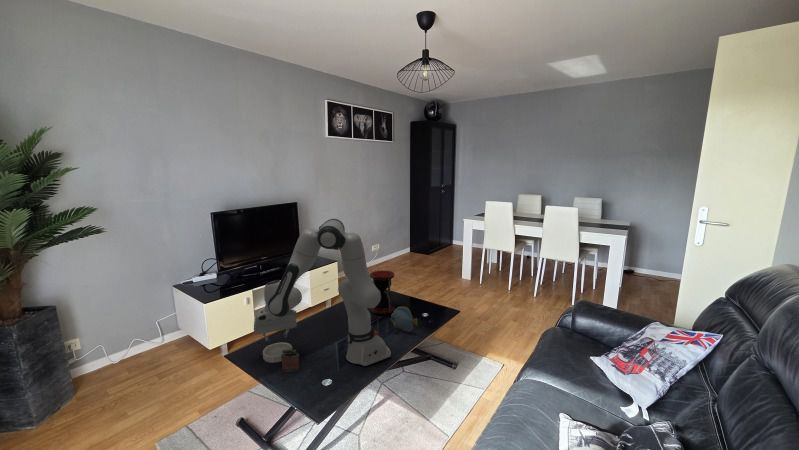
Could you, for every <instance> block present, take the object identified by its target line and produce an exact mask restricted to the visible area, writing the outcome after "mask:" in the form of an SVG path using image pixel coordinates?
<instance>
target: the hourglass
mask: <svg viewBox="0 0 799 450" xmlns="http://www.w3.org/2000/svg"><path fill="white" fill-rule="evenodd" d="M369 275H370V277H371V279H372V281H373V283H374V285H375V286H376V288H377V289H378V290H379V291H380V293H381V299H380V302H379V304H378V305H377V306H376V307H374V308H370V312H372V313H373V314H375V315H388V313H389V314H392V313H393V312H394V310H395V309H396V308H395V305H394V304H393V303H392V292H391V286H392V279H394V278H395V273H394V272H393V271H391V270H375V271H372V272H370V273H369ZM385 291H386V292H385ZM392 311H393V312H392Z"/></svg>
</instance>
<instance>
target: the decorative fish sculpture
mask: <svg viewBox="0 0 799 450" xmlns="http://www.w3.org/2000/svg"><path fill="white" fill-rule="evenodd" d="M390 316H391V317H390V318H389V321H390V323H391V324H393V326H394V327H397V328H399V329H401V330H402V331H404V332H406V331H407V332H408V333H409V332H412V330H413V328H414V325H415V326H416V327H418V318H414V317H413V315H412V312H411V310H410V309H409V308H408V307H407V306H398V307H396V308H395V309H394V311H393V312H391V315H390Z"/></svg>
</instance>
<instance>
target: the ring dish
mask: <svg viewBox="0 0 799 450" xmlns="http://www.w3.org/2000/svg"><path fill="white" fill-rule="evenodd" d="M290 349H292V350H293V346H292V344H291V343H288V342H276V343H275V342H274V343H272V344H270V345H267V346H265V348H264V349H263V350H262V360H263V361H264V362H266V363H271V364H273V363H274V364H275V363H280V362H281V363H282V358H281V355H282V354H285V353H283V352H282V351H283V350H290Z"/></svg>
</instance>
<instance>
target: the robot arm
mask: <svg viewBox="0 0 799 450" xmlns="http://www.w3.org/2000/svg"><path fill="white" fill-rule="evenodd" d="M345 229H346V228H345V225H344V223H343V222H342V221H341V220H340V219H338V218H330V219H328V220H326V221H325V222H324V223H322V224H321V225H319V227H318V229H315V228H306V229H304V230H302V232H301V233H300V235H299V237H298V238H297V241H296V244H295V246H294V247H293V251H292V254H291V257H290V259H289V262H288V263H287V266H286V268H285V270H284V272H283V274H282V277H281V279H274V280H272V281H268V282H267V283H266V284H265V285H264V289H263V290H264V291H263V297H264V298H263V299H264V304H265V305H264V308H263V309H261V310H259V311H257V312H256V313H255V319H254V321H253V334H254V335H262V336H263V337H264V340H265V342H267V341H268V342H269V336H268V335H267V333H272V332H278V331H279V332H280V331H285V332H283V337H284V338H287V337H288V333H290V329H295V328H296V327H297V326H298V323H297V316H298V314H297V311H296V310H295V309H294V308H296V307H297V306H298V305H299V304H300V303H301V302H302V300H303V295H302V292H301V291H300V290H299V288H297V287H294V286H295V285H296V282H297V281H298V280H299V279H300V277H301V276H302V275H304V274H305V273H306V272H308V271H309V270H310V269H312V267H313V266H314V264H315V262H316V260H317V258H318V254H319V252H320V249H321V248H323V249H326V250H336V251H338V250H339V252H340V256H341V262H342V263H341V264H342V268H343V273H344V275H345V277H346V278H345V279H343V280H341V281H340V283H339V285H338V287H337V291H338V294H339V295H340V297H341V299H342V302H343V303H344V306H345V310H346V313H347V325H348V330H347V342H348V345H347V352H346V356H345V358H346V360H347V361H348V362H350V363H351V364H355V365H361V366H363V367H366V366H369V365H372V364H374V363H377V362H380V361H383V360H385V359H388V358H391V356H392V353H391V349H390V348H389V347H388V345H386V342H385V340H384V339H383V338H382V337H381V336H379V335H378V334H379V332H378V331H377V330H376V329H375V328H373V327H372V323H371V322H372V317H371V311H369V309H371V308H374V307H376V306H377V305H378V304H379V302H380V299H381V293H380V292H381V291H379V290H378V289H377V288H376V286H375V285H374V283H373V279H372V278H371V277H370V273H369V270H368V267H367V266H368V264H367V261H366V254H365V248H364V244H363V241H362V238H361V237H360V235H359V234H358V233H355V232H346V231H345Z"/></svg>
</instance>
